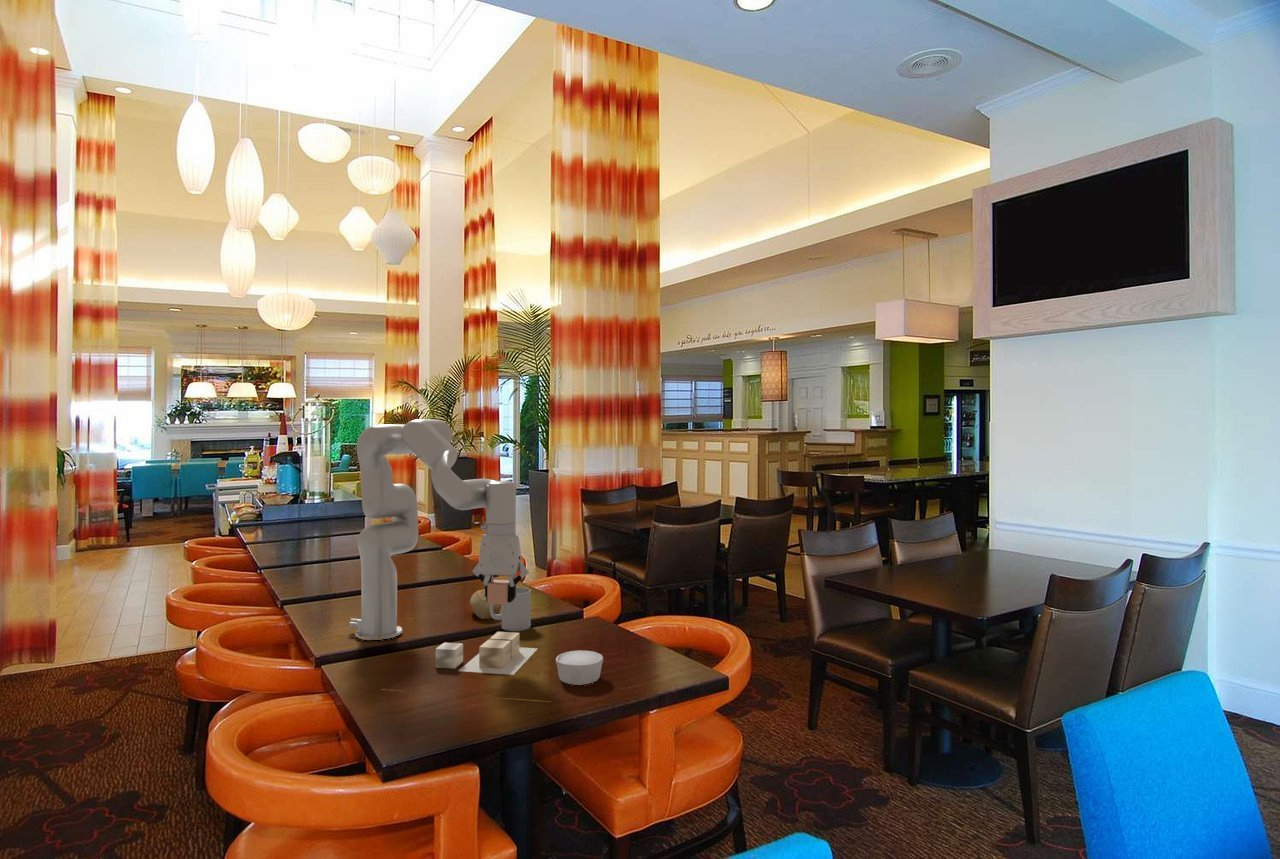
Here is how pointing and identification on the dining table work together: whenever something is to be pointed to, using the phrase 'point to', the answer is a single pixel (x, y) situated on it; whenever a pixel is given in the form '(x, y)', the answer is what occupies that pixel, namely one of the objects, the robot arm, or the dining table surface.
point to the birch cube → (449, 655)
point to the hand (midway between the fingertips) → (500, 599)
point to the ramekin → (579, 667)
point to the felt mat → (508, 669)
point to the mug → (516, 611)
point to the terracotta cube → (498, 592)
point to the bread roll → (482, 605)
